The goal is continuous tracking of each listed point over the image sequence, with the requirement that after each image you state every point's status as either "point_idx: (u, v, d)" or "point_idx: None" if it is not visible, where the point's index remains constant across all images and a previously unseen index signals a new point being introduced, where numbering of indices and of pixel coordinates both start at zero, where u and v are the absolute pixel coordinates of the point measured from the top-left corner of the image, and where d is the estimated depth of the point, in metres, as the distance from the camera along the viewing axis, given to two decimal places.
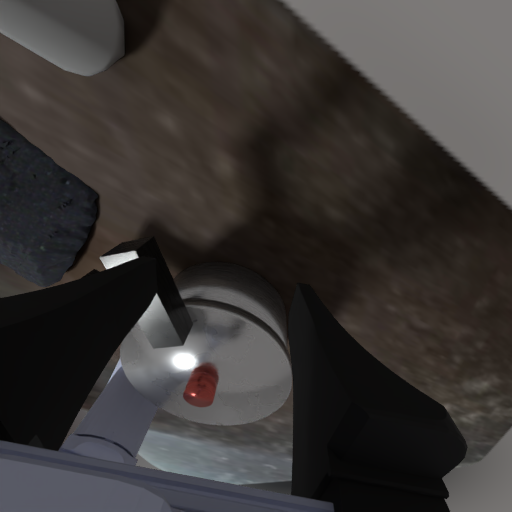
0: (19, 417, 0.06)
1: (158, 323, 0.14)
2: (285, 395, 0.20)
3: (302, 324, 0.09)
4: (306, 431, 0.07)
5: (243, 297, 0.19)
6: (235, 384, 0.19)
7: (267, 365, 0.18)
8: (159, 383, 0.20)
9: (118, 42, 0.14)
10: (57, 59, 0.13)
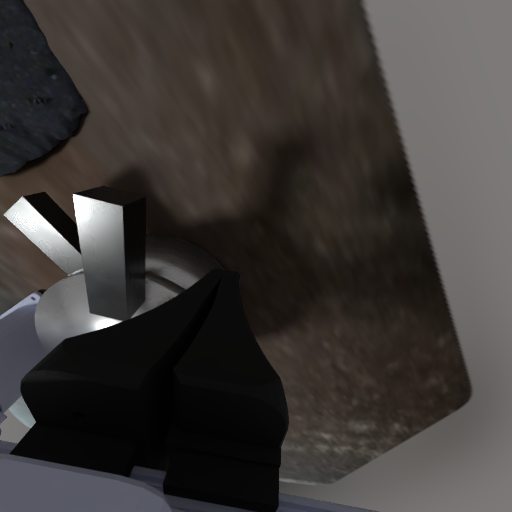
0: (157, 443, 0.06)
1: (110, 290, 0.12)
2: None
3: None
4: None
5: None
6: None
7: None
8: None
9: None
10: None
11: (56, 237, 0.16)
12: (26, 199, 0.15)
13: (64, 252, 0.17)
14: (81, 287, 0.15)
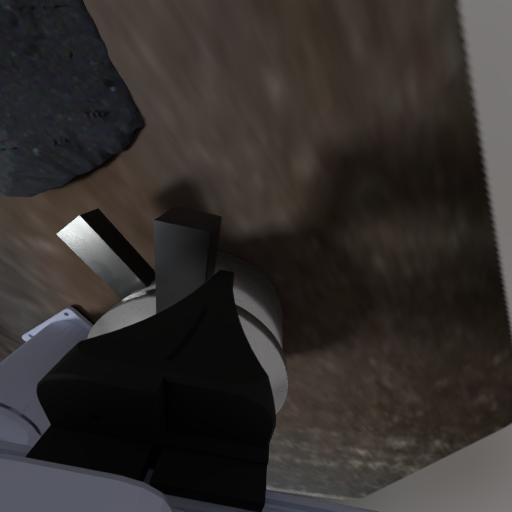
0: None
1: None
2: None
3: None
4: None
5: (265, 312, 0.17)
6: None
7: None
8: None
9: None
10: None
11: (111, 257, 0.15)
12: (83, 218, 0.14)
13: (118, 273, 0.15)
14: (139, 313, 0.14)
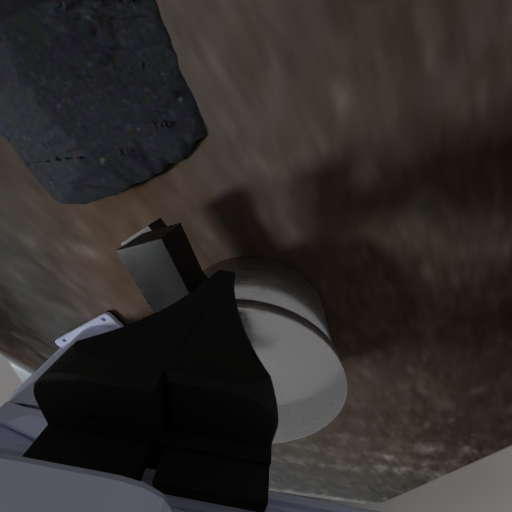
0: None
1: None
2: (337, 408, 0.16)
3: None
4: None
5: (321, 322, 0.17)
6: (277, 398, 0.17)
7: (317, 374, 0.15)
8: None
9: None
10: None
11: None
12: (150, 228, 0.14)
13: None
14: None
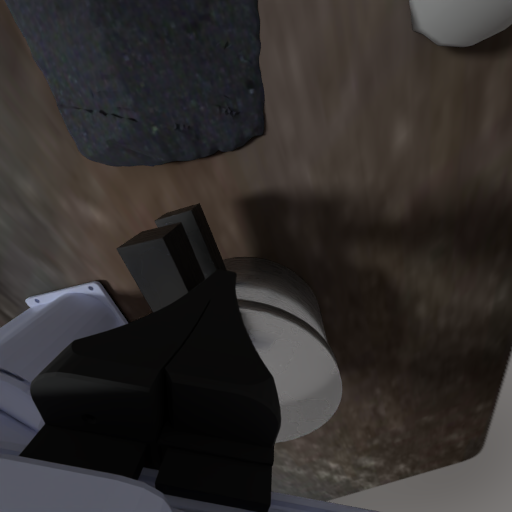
0: None
1: None
2: (332, 410, 0.17)
3: None
4: None
5: (325, 338, 0.17)
6: None
7: (313, 376, 0.15)
8: None
9: (480, 39, 0.11)
10: None
11: (203, 257, 0.14)
12: (192, 213, 0.13)
13: (203, 273, 0.15)
14: None
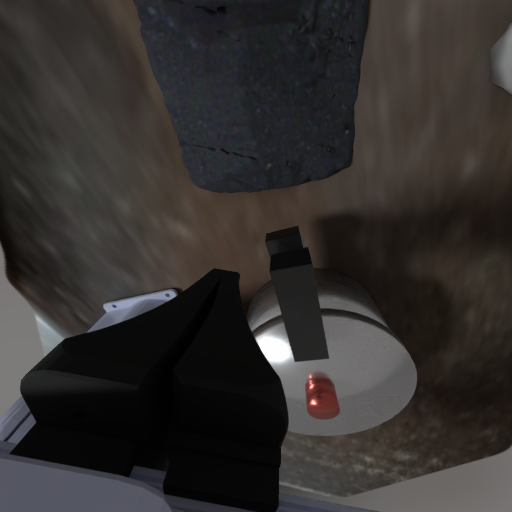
0: (157, 443, 0.06)
1: (310, 336, 0.14)
2: (403, 405, 0.19)
3: None
4: None
5: None
6: (350, 395, 0.19)
7: (392, 375, 0.17)
8: None
9: None
10: None
11: None
12: (299, 236, 0.15)
13: None
14: (266, 343, 0.17)
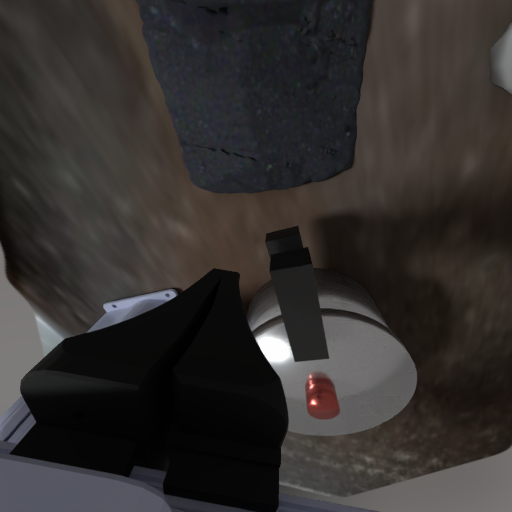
0: (157, 443, 0.06)
1: (310, 336, 0.14)
2: (403, 405, 0.19)
3: None
4: None
5: None
6: (350, 395, 0.19)
7: (392, 375, 0.17)
8: None
9: None
10: None
11: None
12: (299, 236, 0.15)
13: None
14: (266, 343, 0.17)
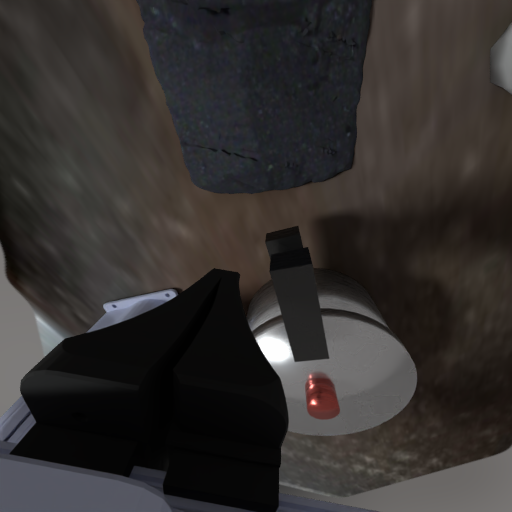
0: (157, 443, 0.06)
1: (310, 336, 0.14)
2: (403, 405, 0.19)
3: None
4: None
5: None
6: (350, 395, 0.19)
7: (392, 375, 0.17)
8: None
9: None
10: None
11: None
12: (299, 236, 0.15)
13: None
14: (266, 343, 0.17)
